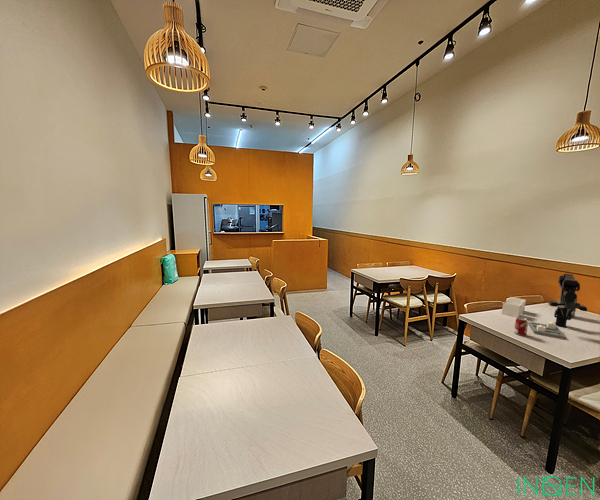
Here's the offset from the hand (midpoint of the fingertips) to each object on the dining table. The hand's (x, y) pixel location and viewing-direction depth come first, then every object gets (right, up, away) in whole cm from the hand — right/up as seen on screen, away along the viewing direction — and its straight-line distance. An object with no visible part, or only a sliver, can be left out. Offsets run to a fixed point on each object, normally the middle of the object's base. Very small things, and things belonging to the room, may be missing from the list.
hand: (565, 316), depth 180 cm
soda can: (-36, -12, -2) cm, 38 cm away
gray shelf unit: (-12, -12, +2) cm, 17 cm away
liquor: (+35, -8, +32) cm, 48 cm away
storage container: (-5, -7, +38) cm, 39 cm away
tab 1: (-19, -11, 0) cm, 22 cm away
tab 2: (-5, -10, +5) cm, 13 cm away
